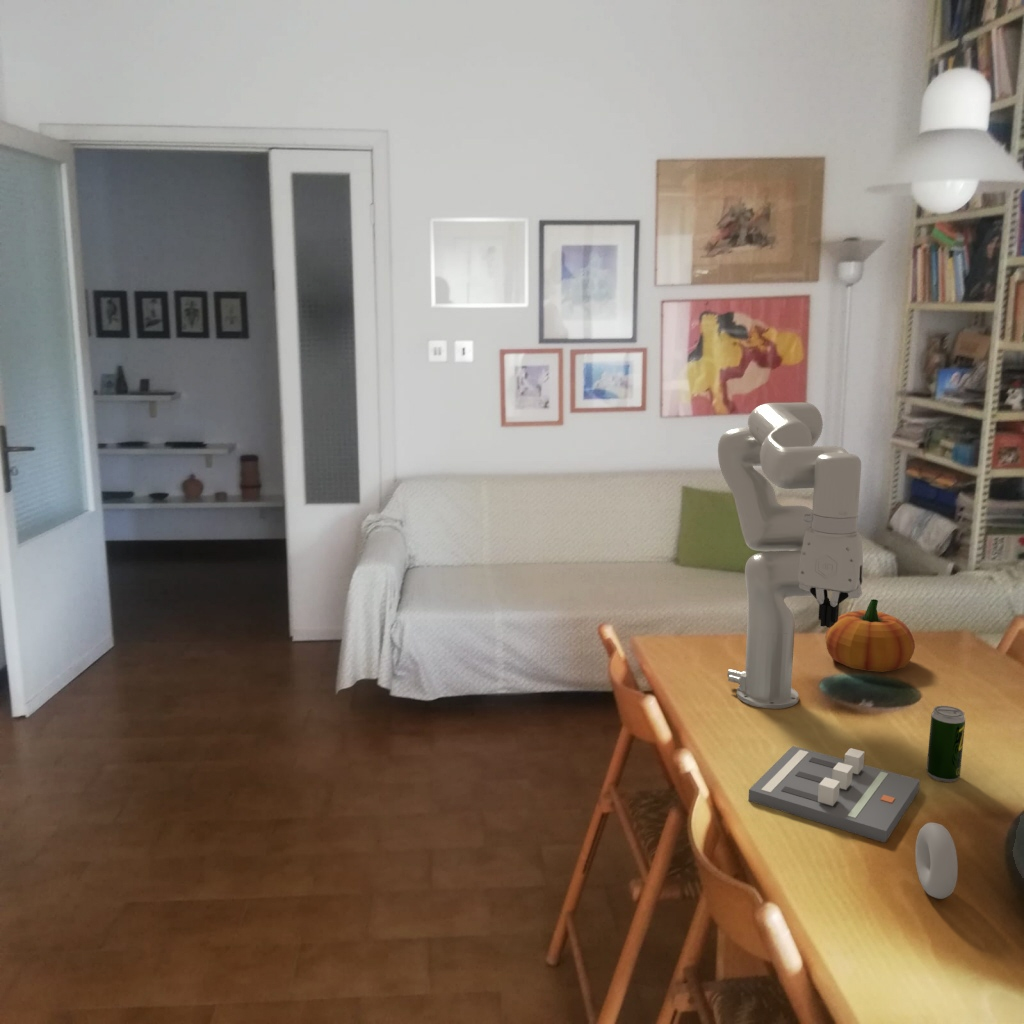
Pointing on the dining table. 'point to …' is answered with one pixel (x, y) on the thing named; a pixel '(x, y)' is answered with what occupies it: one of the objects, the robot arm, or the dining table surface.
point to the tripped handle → (843, 774)
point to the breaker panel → (837, 817)
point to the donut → (936, 860)
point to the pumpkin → (870, 640)
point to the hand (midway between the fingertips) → (827, 624)
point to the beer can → (945, 743)
